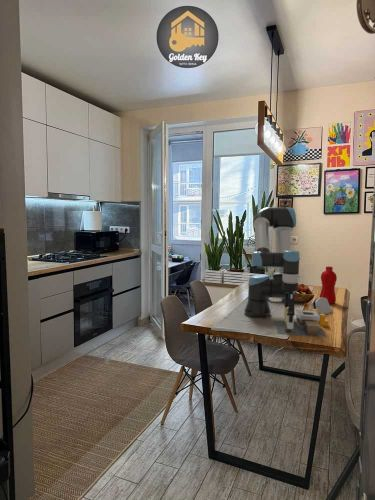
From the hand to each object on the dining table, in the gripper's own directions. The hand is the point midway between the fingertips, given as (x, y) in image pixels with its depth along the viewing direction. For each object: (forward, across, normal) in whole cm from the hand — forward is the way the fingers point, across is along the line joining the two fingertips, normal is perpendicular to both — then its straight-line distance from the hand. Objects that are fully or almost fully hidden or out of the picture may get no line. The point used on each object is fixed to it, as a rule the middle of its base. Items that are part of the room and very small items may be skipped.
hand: (288, 324), depth 171 cm
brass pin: (+4, 0, 0) cm, 4 cm away
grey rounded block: (+5, +45, -25) cm, 52 cm away
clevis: (+4, +7, -11) cm, 14 cm away
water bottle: (+4, +73, -34) cm, 81 cm away
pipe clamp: (+5, +21, -19) cm, 28 cm away
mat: (+4, +7, -6) cm, 10 cm away
